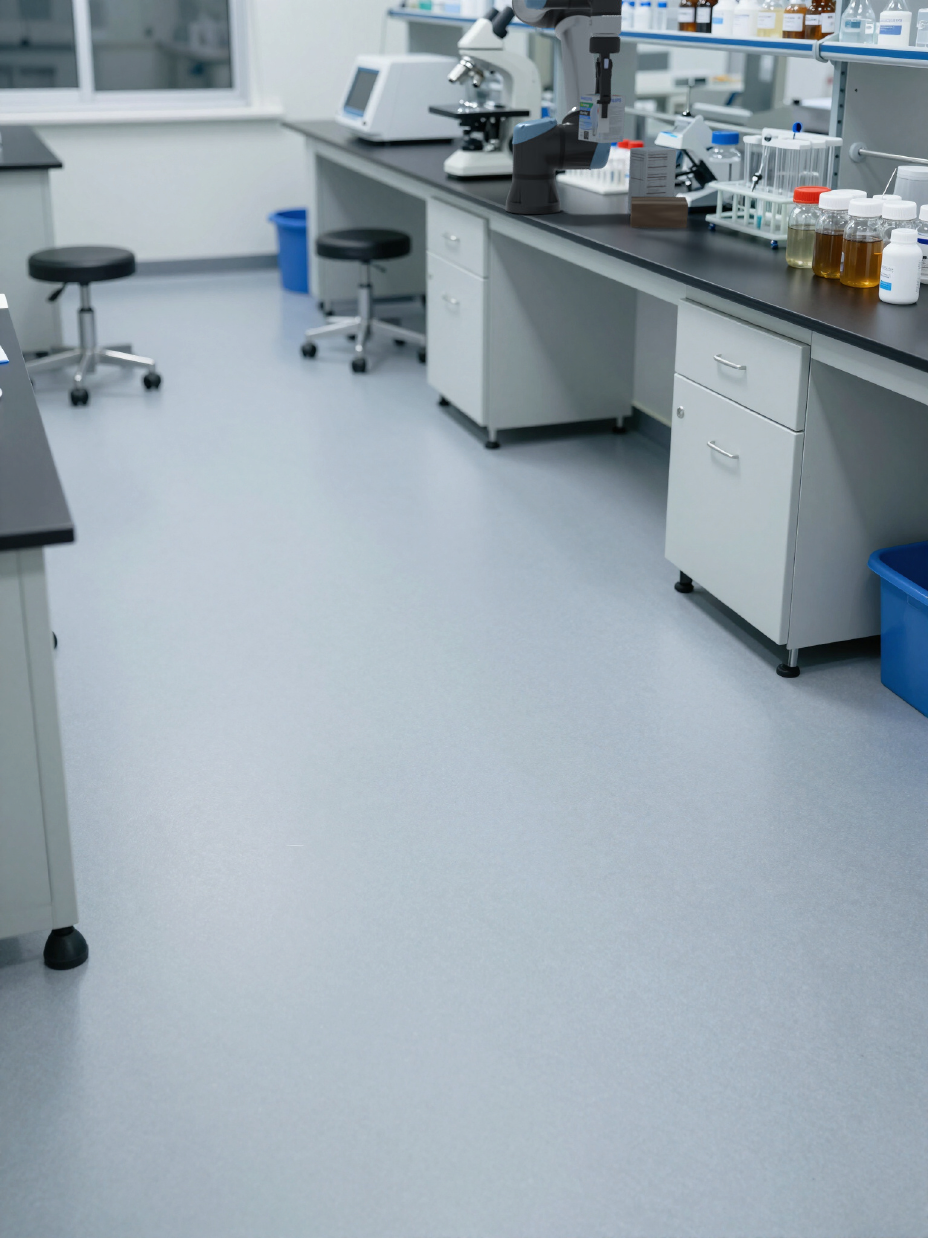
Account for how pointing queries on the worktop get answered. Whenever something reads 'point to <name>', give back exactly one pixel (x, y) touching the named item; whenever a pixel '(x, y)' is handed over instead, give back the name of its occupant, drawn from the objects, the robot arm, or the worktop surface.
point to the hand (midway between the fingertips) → (601, 130)
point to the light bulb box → (590, 119)
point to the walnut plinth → (659, 212)
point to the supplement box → (651, 173)
